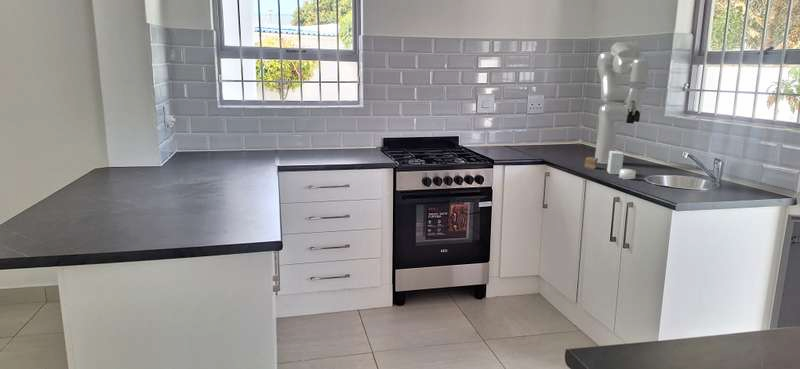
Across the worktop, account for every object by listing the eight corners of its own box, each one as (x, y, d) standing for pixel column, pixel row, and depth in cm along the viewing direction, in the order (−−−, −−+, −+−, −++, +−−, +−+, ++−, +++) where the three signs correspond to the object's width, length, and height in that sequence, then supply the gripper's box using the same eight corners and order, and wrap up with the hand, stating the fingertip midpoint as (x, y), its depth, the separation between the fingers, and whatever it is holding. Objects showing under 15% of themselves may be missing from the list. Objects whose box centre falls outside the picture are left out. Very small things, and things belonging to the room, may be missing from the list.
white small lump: (620, 176, 271) (621, 168, 270) (636, 178, 267) (637, 170, 266) (617, 178, 265) (618, 170, 264) (633, 180, 262) (634, 172, 261)
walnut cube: (587, 166, 293) (588, 157, 292) (596, 167, 290) (598, 158, 289) (584, 167, 289) (585, 158, 288) (594, 169, 286) (595, 159, 285)
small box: (621, 175, 274) (624, 153, 271) (609, 174, 275) (612, 152, 272) (618, 172, 281) (621, 151, 279) (606, 171, 282) (609, 150, 280)
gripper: (634, 85, 273) (629, 120, 277) (624, 85, 259) (619, 122, 263) (650, 86, 268) (645, 122, 272) (641, 87, 255) (636, 124, 259)
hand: (632, 122), depth 268 cm, fingers open, 9 cm apart
